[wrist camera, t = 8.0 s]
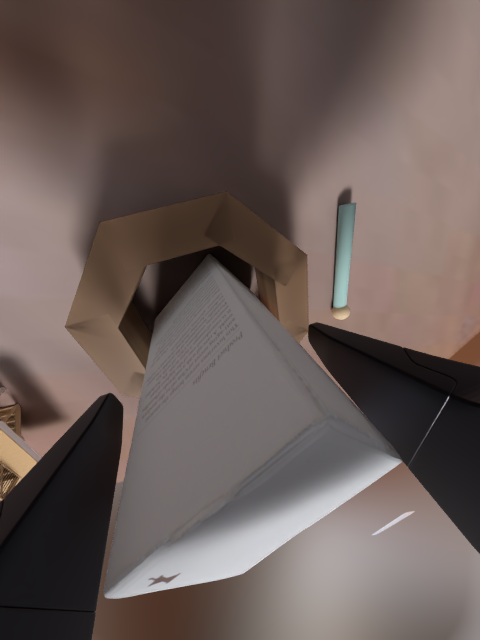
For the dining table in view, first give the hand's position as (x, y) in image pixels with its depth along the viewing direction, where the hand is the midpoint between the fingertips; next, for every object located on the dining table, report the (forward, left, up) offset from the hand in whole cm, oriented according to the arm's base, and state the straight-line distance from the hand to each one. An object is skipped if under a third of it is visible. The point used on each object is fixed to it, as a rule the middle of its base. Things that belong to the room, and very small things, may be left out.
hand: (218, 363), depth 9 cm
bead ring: (0, 0, -6) cm, 6 cm away
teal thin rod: (-11, 0, -6) cm, 13 cm away
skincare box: (0, 0, -7) cm, 7 cm away
